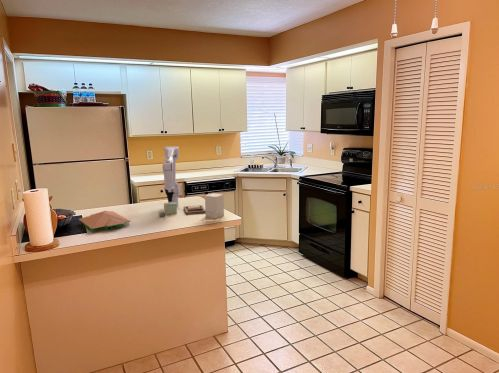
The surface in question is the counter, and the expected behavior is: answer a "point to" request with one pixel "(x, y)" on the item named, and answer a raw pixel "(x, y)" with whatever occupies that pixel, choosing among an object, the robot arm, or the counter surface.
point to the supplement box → (214, 205)
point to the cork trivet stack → (193, 207)
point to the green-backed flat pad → (104, 220)
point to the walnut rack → (194, 210)
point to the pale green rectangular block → (170, 208)
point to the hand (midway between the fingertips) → (169, 200)
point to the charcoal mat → (162, 214)
